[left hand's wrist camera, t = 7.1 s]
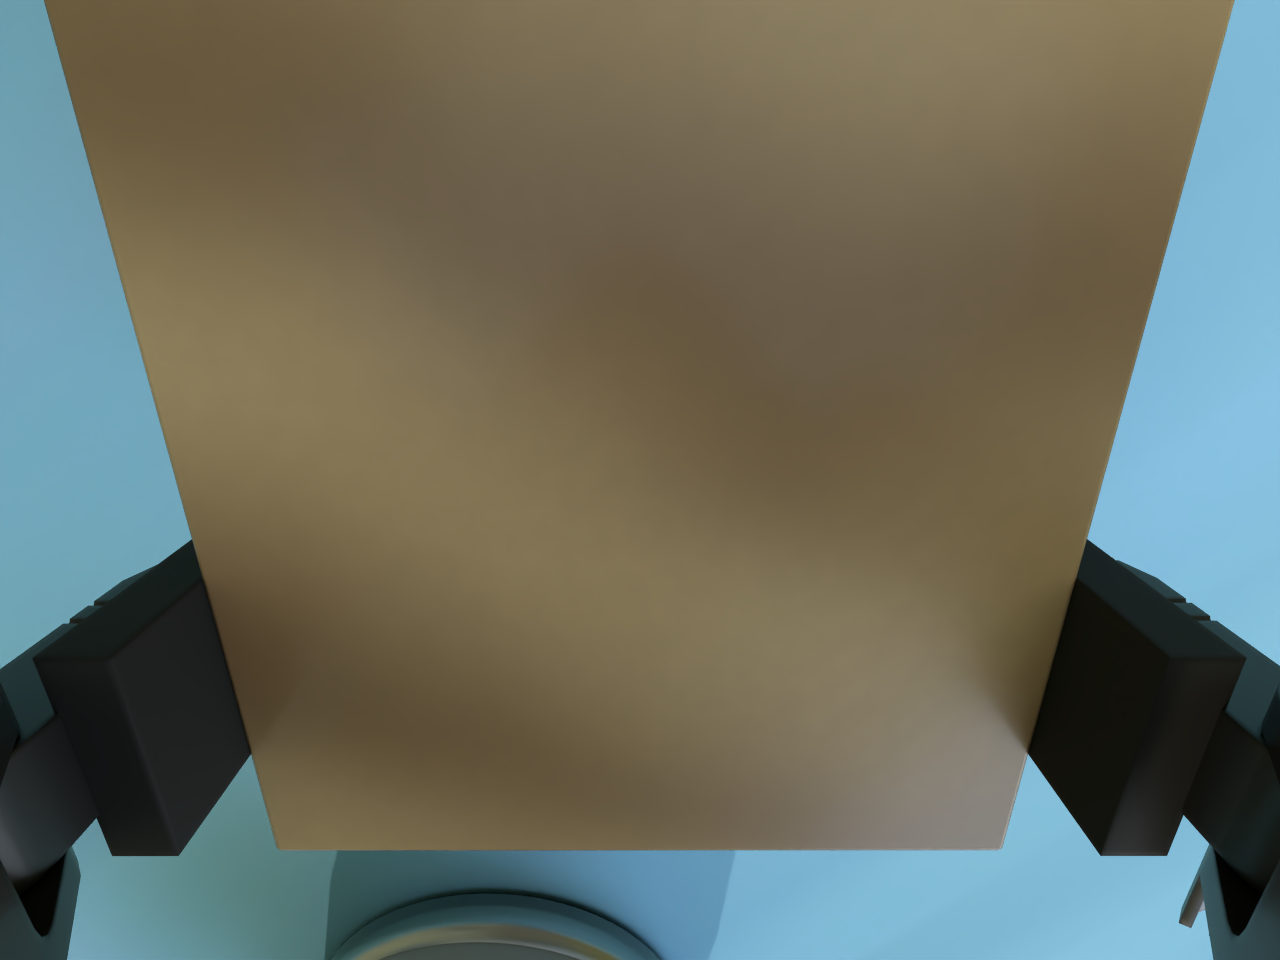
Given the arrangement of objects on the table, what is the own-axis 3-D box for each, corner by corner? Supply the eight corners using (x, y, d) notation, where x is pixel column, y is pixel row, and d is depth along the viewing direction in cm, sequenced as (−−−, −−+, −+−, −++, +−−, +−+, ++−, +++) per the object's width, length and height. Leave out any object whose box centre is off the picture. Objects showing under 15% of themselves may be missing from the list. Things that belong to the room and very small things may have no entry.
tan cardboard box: (378, -274, 14) (-471, -1840, 3) (900, -274, 14) (1748, -1840, 3) (463, 520, 20) (275, 852, 10) (815, 520, 20) (1003, 852, 10)
